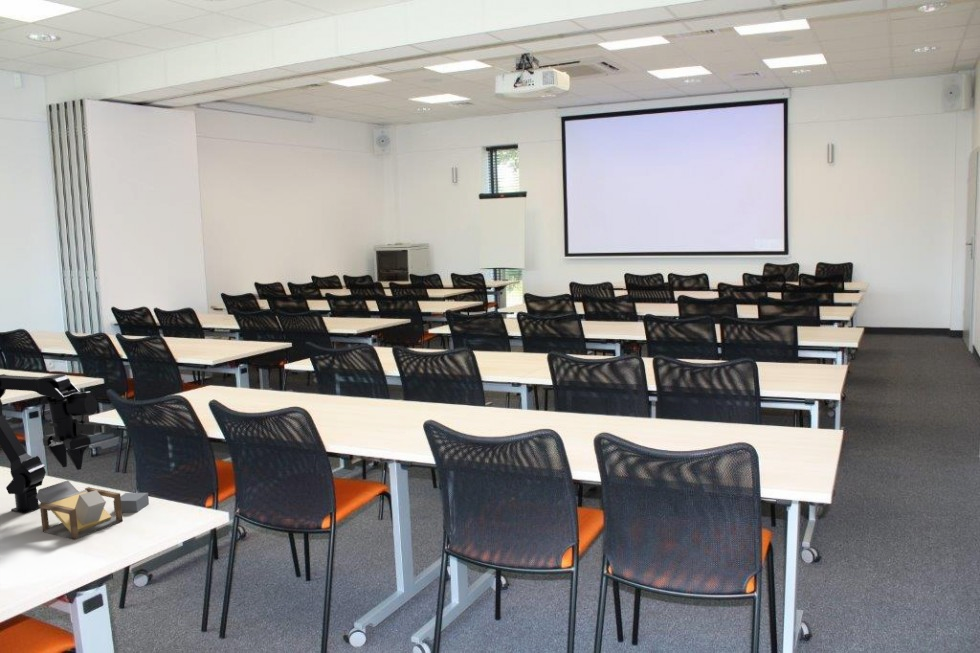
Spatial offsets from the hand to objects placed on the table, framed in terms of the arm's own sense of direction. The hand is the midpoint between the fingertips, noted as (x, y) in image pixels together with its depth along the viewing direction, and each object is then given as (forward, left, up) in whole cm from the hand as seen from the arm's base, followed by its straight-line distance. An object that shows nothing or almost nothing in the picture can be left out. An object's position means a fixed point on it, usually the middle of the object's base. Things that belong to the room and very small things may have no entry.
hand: (71, 468), depth 245 cm
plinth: (+15, +8, -13) cm, 21 cm away
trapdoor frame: (+15, -8, -13) cm, 21 cm away
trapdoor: (+9, -8, -10) cm, 16 cm away
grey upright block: (+17, -8, -10) cm, 21 cm away
